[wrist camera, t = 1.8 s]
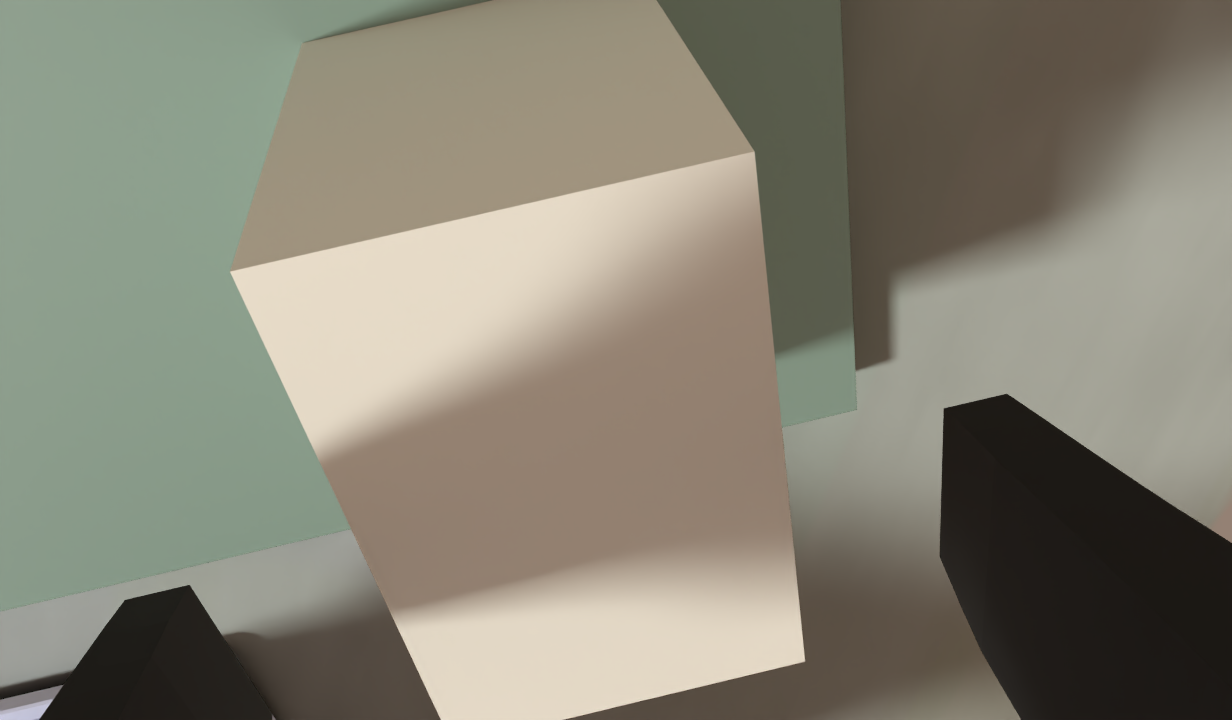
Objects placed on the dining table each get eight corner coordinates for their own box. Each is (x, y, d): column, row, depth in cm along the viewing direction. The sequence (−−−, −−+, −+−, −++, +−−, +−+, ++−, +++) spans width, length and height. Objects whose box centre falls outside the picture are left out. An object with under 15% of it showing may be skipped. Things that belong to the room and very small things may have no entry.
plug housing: (700, 380, 17) (804, 661, 13) (446, 439, 17) (454, 745, 13) (636, -32, 13) (754, 150, 9) (302, 43, 13) (230, 272, 8)
